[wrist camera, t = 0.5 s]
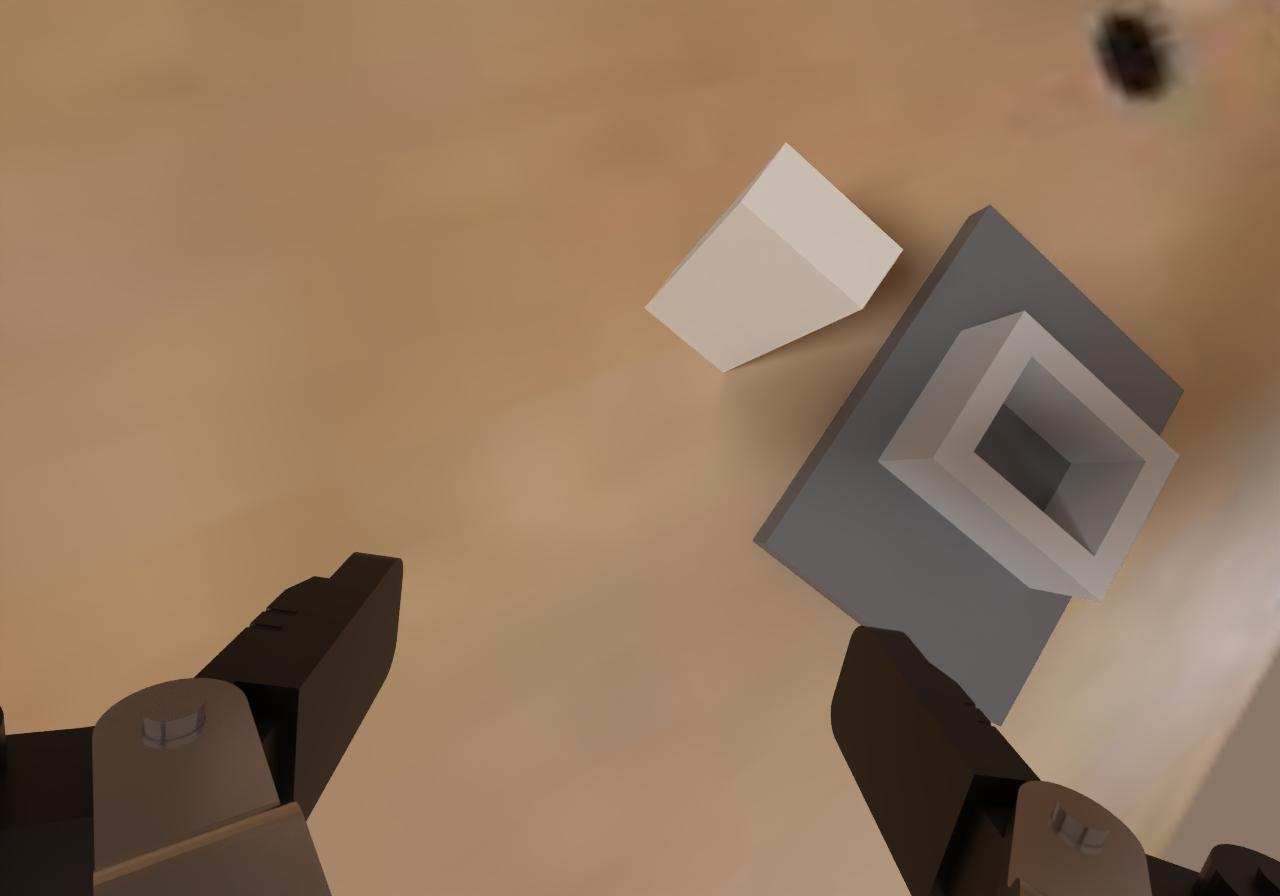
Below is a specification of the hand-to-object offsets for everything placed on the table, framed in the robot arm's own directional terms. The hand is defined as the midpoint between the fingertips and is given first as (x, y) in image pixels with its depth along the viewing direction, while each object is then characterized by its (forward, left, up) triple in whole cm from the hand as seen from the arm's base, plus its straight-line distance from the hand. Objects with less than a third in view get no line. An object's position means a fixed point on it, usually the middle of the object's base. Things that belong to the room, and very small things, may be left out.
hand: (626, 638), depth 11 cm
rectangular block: (-11, +7, -18) cm, 22 cm away
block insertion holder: (-5, +23, -18) cm, 30 cm away
